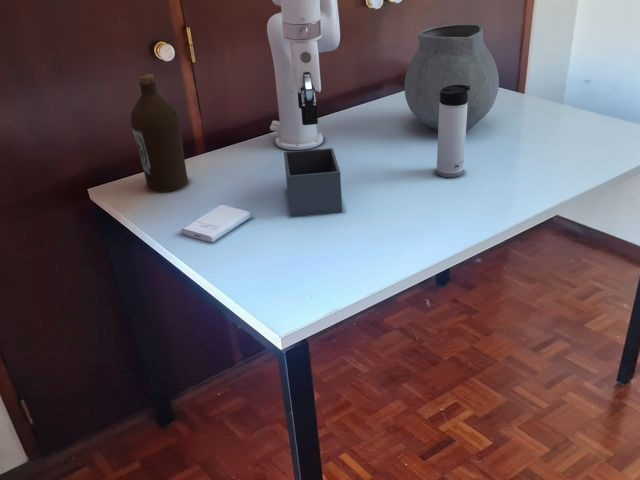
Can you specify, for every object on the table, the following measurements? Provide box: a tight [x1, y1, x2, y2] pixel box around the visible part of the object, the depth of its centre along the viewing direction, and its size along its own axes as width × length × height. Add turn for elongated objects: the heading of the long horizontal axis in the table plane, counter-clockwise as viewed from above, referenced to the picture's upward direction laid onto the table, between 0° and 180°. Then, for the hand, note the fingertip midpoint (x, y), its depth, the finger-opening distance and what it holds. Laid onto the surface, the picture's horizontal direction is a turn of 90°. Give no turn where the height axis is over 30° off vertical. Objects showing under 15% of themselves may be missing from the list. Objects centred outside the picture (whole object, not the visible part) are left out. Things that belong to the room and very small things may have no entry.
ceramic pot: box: [404, 23, 500, 130], centre depth 185 cm, size 24×24×25 cm
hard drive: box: [181, 204, 251, 243], centre depth 149 cm, size 2×8×12 cm
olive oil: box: [130, 73, 189, 193], centre depth 160 cm, size 11×11×25 cm
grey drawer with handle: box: [283, 147, 343, 217], centre depth 157 cm, size 19×11×9 cm, turn 8°
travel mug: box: [436, 85, 470, 179], centre depth 161 cm, size 6×7×20 cm
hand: (308, 115), depth 150 cm, fingers open, 9 cm apart
